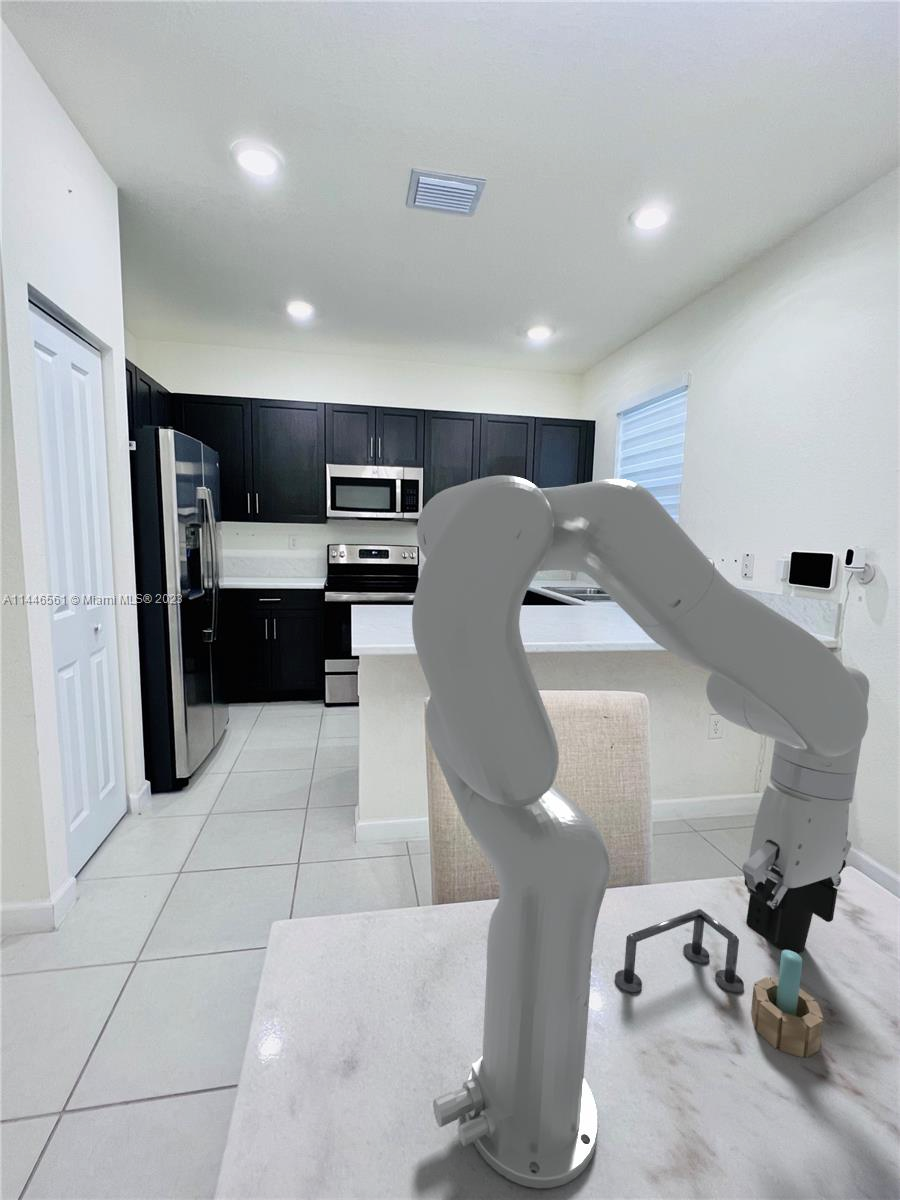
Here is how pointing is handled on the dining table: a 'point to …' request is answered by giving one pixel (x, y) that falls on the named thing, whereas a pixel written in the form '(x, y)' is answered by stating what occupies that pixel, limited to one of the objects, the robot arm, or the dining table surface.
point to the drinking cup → (791, 918)
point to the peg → (789, 982)
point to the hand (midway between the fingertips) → (789, 923)
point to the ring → (786, 1020)
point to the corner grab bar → (691, 950)
